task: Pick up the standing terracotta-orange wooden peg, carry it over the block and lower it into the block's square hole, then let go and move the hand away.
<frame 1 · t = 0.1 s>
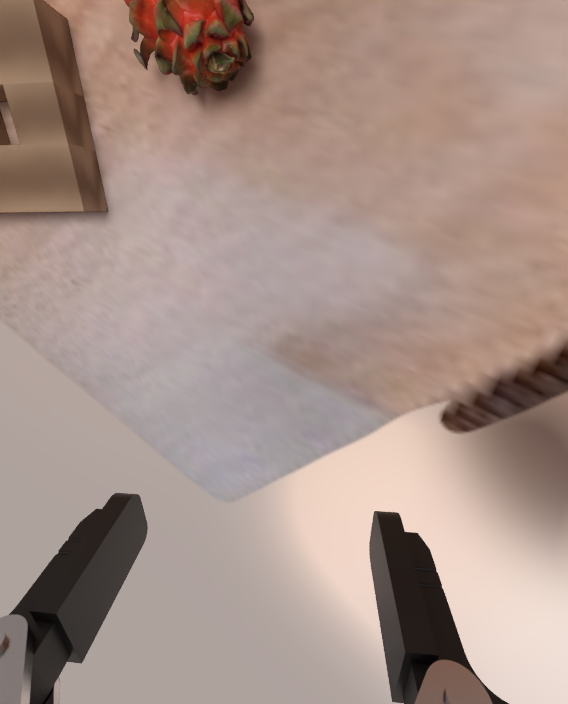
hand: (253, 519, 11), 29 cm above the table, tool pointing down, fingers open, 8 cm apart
hole block: (25, 127, 33), on the table
dragon fruit: (198, 41, 29), on the table
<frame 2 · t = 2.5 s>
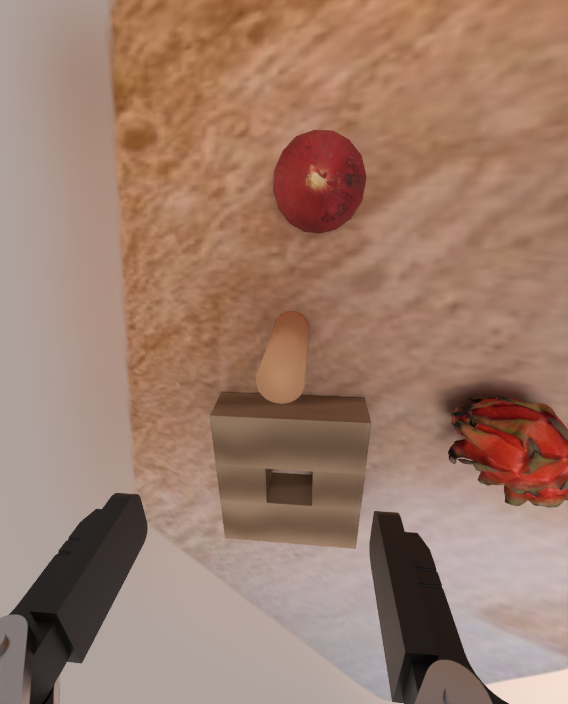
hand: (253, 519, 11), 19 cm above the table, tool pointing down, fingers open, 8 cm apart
onion: (318, 188, 24), on the table
peg: (291, 327, 28), on the table
hole block: (291, 458, 34), on the table
dragon fruit: (489, 419, 31), on the table
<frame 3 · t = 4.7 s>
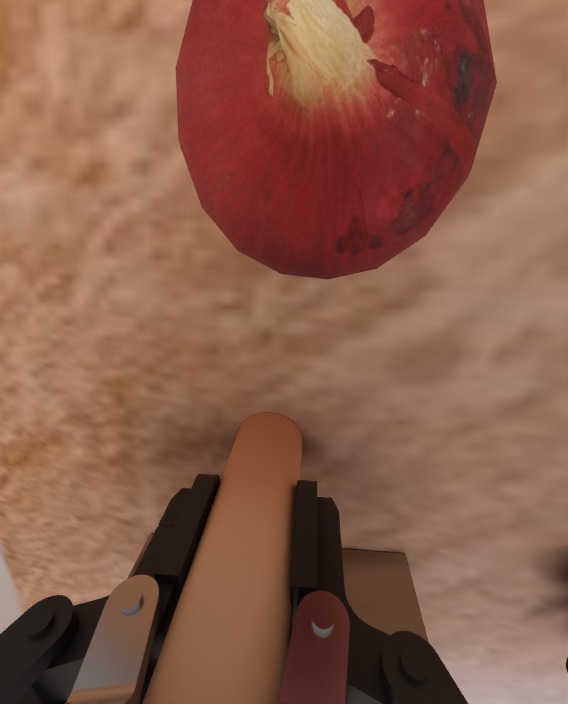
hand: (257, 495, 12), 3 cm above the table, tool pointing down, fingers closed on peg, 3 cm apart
onion: (321, 162, 10), on the table
peg: (269, 440, 15), on the table, touching gripper
hole block: (276, 626, 21), on the table
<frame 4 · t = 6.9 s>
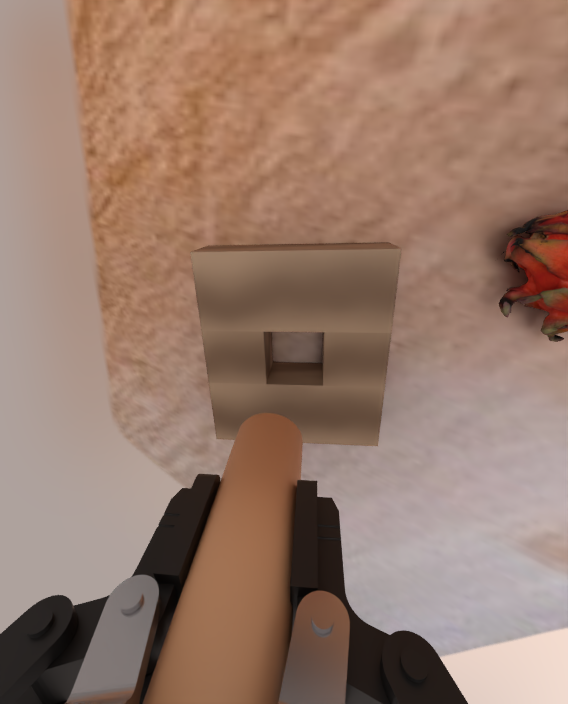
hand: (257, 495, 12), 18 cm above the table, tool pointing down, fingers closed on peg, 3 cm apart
peg: (269, 440, 15), point 14 cm above the table, touching gripper
hole block: (297, 339, 28), on the table
dragon fruit: (549, 267, 24), on the table
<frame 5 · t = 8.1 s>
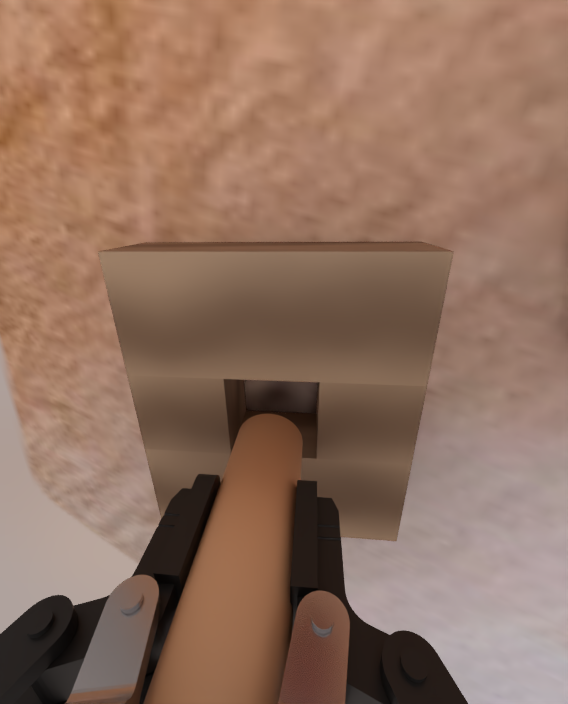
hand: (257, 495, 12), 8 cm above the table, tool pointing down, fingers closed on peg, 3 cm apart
peg: (269, 441, 15), point 5 cm above the table, touching gripper
hole block: (280, 381, 19), on the table
when the fingers open (5 cm above the table, at t = 9.1 s): peg drops 2 cm, resting in hole block.
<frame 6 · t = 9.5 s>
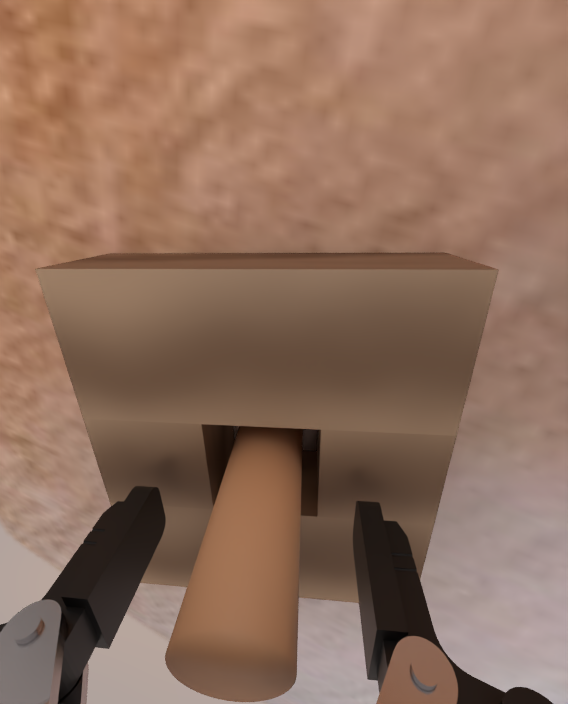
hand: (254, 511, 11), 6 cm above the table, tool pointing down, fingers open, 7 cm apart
peg: (273, 415, 16), resting in hole block
hole block: (274, 414, 16), on the table
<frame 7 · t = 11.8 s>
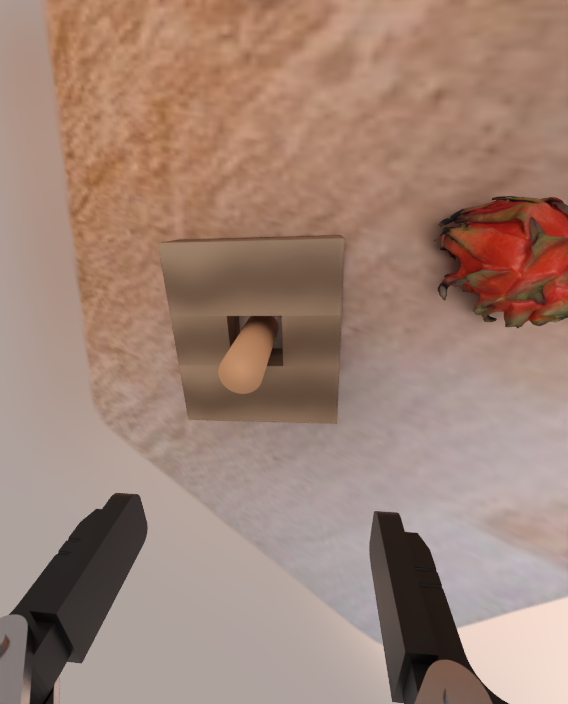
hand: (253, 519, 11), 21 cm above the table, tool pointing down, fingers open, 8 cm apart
peg: (262, 326, 30), resting in hole block
hole block: (262, 326, 30), on the table
dragon fruit: (484, 256, 27), on the table
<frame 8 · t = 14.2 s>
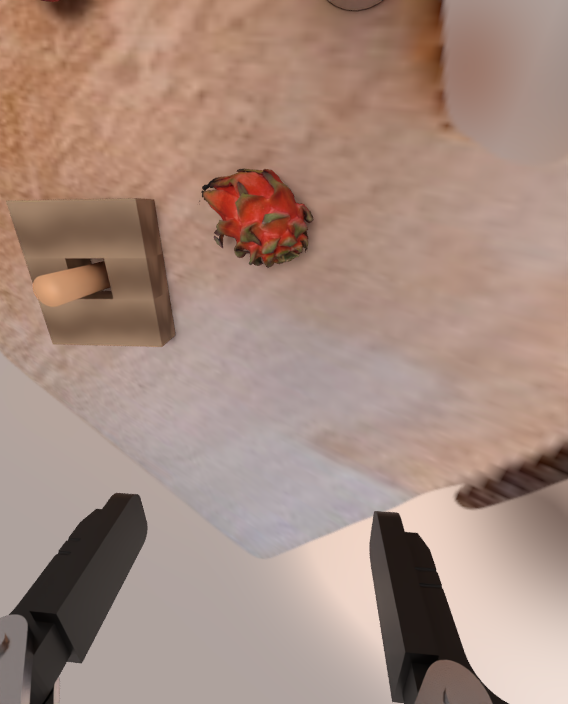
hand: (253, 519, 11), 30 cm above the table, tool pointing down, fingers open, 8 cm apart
peg: (110, 273, 39), resting in hole block
hole block: (110, 272, 39), on the table
dragon fruit: (262, 217, 35), on the table
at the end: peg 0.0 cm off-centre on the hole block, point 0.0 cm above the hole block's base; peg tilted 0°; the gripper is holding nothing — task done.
